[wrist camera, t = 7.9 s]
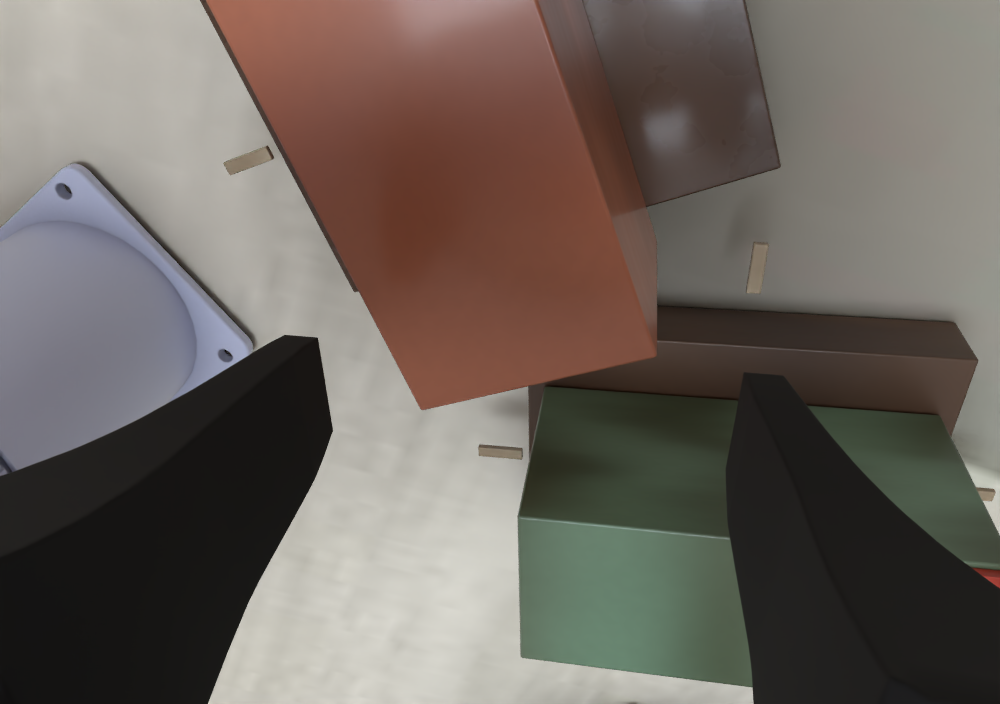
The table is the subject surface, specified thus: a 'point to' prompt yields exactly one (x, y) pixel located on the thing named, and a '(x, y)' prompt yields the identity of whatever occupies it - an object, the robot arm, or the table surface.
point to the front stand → (655, 96)
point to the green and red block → (689, 525)
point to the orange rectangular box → (463, 180)
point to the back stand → (791, 361)
